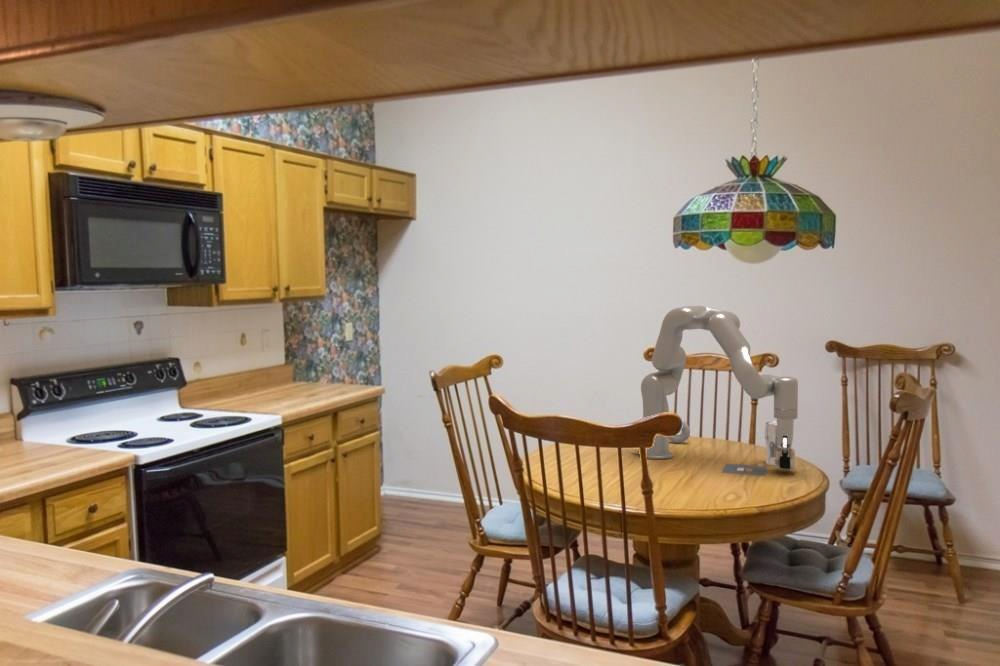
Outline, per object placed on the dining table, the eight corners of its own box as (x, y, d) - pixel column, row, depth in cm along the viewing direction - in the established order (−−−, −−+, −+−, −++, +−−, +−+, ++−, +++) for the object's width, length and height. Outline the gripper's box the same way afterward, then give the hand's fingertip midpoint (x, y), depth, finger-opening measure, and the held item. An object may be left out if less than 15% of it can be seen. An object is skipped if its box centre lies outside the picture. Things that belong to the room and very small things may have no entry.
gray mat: (721, 474, 255) (721, 472, 255) (725, 464, 268) (725, 463, 268) (765, 477, 250) (765, 476, 250) (767, 468, 262) (767, 466, 262)
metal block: (775, 468, 252) (775, 451, 252) (776, 464, 257) (776, 447, 257) (794, 470, 250) (794, 452, 249) (794, 466, 255) (795, 448, 255)
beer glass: (782, 462, 270) (782, 421, 269) (787, 467, 263) (788, 425, 262) (762, 462, 271) (762, 421, 270) (767, 466, 264) (767, 424, 263)
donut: (664, 443, 306) (664, 419, 305) (665, 441, 309) (665, 417, 308) (689, 444, 302) (689, 420, 302) (690, 443, 305) (690, 418, 305)
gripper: (774, 409, 262) (774, 459, 263) (772, 417, 246) (772, 471, 247) (797, 410, 259) (797, 461, 260) (797, 418, 243) (796, 472, 244)
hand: (785, 465), depth 254 cm, fingers closed on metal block, 6 cm apart
